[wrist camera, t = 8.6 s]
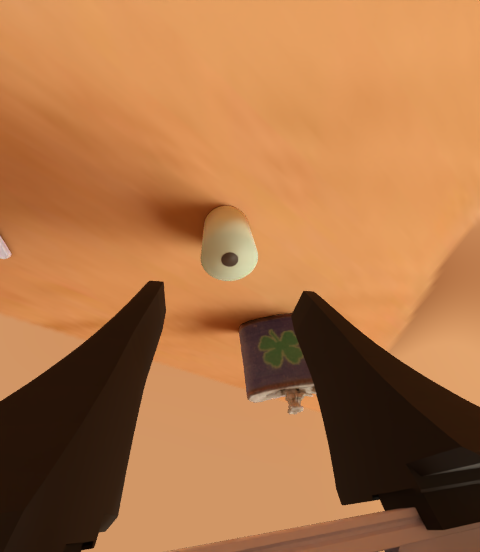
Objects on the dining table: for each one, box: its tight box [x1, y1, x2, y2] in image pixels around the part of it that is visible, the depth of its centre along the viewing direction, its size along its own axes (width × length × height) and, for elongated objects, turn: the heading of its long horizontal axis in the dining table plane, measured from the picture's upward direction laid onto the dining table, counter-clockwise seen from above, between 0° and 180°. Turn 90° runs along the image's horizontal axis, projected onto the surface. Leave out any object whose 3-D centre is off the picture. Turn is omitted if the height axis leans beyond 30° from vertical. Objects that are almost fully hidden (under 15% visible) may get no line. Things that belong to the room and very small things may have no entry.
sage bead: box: [201, 206, 258, 281], centre depth 15 cm, size 4×4×5 cm
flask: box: [239, 313, 317, 414], centre depth 22 cm, size 9×3×11 cm, turn 97°
